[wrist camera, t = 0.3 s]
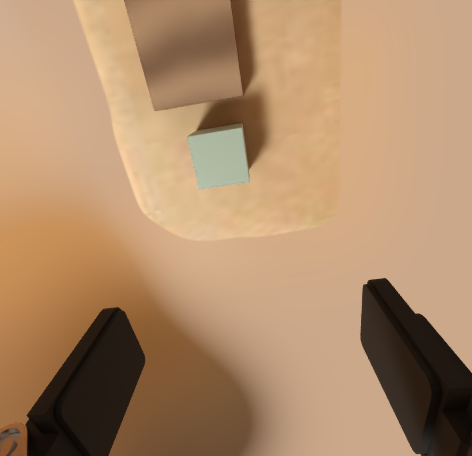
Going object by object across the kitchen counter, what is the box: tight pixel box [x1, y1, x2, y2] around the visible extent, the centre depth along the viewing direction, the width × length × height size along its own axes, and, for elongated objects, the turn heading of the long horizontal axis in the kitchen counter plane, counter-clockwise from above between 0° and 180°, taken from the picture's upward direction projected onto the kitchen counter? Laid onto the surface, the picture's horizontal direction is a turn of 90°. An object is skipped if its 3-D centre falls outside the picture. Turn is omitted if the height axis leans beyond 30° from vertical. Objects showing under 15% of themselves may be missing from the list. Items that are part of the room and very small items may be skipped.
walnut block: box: [124, 0, 243, 111], centre depth 28 cm, size 10×10×4 cm
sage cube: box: [187, 123, 249, 190], centre depth 32 cm, size 6×6×6 cm
